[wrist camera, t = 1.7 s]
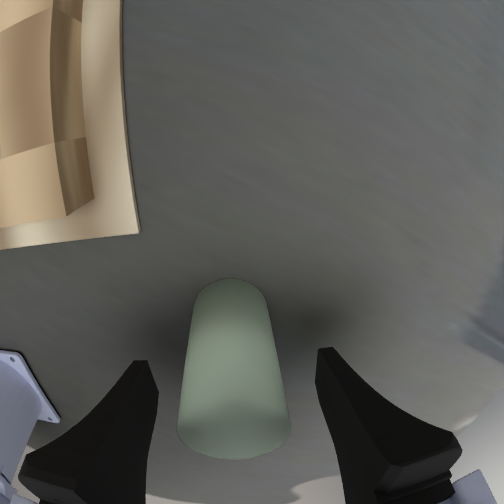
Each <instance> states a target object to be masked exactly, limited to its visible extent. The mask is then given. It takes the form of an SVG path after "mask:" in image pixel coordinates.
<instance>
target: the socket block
mask: <svg viewBox="0 0 504 504" xmlns="http://www.w3.org/2000/svg"><path fill="white" fill-rule="evenodd" d="M122 2H123V0H0V250H2V249H9V248H17V247H24V246H32V245H40V244H48V243H56V242H64V241H72V240H81V239H90V238H99V237H108V236H117V235H127V234H136V233H139V232H140V231H141V228H140V222H139V217H138V211H137V204H136V198H135V191H134V184H133V177H132V170H131V162H130V153H129V144H128V135H127V124H126V113H125V99H124V83H123V59H122Z"/></svg>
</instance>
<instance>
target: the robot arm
mask: <svg viewBox="0 0 504 504" xmlns="http://www.w3.org/2000/svg"><path fill="white" fill-rule="evenodd" d="M315 384H316V389H317V394H318V399H319V403H320V406H321V408H322V411H323V414H324V417H325V420H326V423H327V426H328V428H329V431H330V434H331V437H332V440H333V443H334V446H335V450H336V454H337V458H338V463H339V468H340V473H341V478H342V483H343V489H344V495H345V502H346V504H497V503H496V500H495V498H494V496H493V494H492V492H491V490H490V488H489V486H488V484H487V482H486V480H485V478H484V476H483V475H482V472H481V471H480V470H479V469H478V470H476V471H474V472H472V473H470V474H468V475H467V476H464V477H463V478H460V479H459V480H457V481H455V482H454V483H453V484H452V483H451V481H450V478H451V477H452V474H451V472H450V470H449V469H450V468H451V467H452V466H453V464H454V463H455V462H456V461H457V460H458V459H459V457H460V456H461V454H462V448H461V446H460V444H459V442H458V440H457V439H456V437H455V436H454V434H453V433H452V432H450V431H447V430H444V429H441V428H439V427H436V426H433V425H431V424H428V423H426V422H424V421H422V420H420V419H418V418H416V417H414V416H412V415H410V414H408V413H407V412H405V411H403V410H401V409H400V408H398V407H397V406H395V405H394V404H392V403H391V402H389V401H388V400H387V399H385V398H384V397H383V396H381V395H380V394H379V393H378V392H376V391H375V390H374V389H373V388H372V387H371V386H370V385H368V384H367V383H366V382H365V381H364V380H363V379H362V378H361V377H360V376H359V375H358V374H357V373H356V372H355V371H354V370H353V369H352V368H351V367H350V366H349V365H348V364H347V363H346V361H345V360H344V359H343V358H342V357H341V356H340V355H339V354H338V352H337V351H336V350H335V349H334V348H333V347H328V348H320V349H318V356H317V366H316V376H315ZM158 394H159V392H158V389H157V386H156V384H155V381H154V378H153V375H152V373H151V370H150V367H149V364H148V361H147V360H134V361H133V362H132V364H131V365H130V366H129V367H128V369H127V370H126V371H125V372H124V374H123V375H122V376H121V377H120V379H119V380H118V381H117V383H116V384H115V385H114V386H113V387H112V389H111V390H110V391H109V392H108V393H107V395H106V396H105V397H104V398H103V399H102V400H101V401H100V402H99V404H98V405H97V406H96V407H95V408H94V409H93V410H92V411H91V412H90V413H89V414H88V415H87V416H86V417H84V418H83V419H82V420H81V421H80V422H79V423H78V424H76V425H75V426H74V427H72V428H71V429H70V430H68V431H67V432H66V433H64V434H63V435H62V436H60V437H59V438H57V439H55V440H54V441H52V442H50V443H49V444H47V445H45V446H43V447H41V448H39V449H37V450H35V451H33V452H31V453H29V454H27V455H26V457H25V459H24V462H23V465H22V467H21V470H20V472H19V475H18V479H19V481H20V482H21V483H22V484H23V485H24V486H25V487H26V488H27V489H28V490H30V491H31V492H32V493H33V494H34V495H35V496H37V497H38V498H39V499H40V502H39V504H146V502H145V500H146V498H145V493H146V469H147V458H148V452H149V447H150V443H151V438H152V433H153V429H154V424H155V419H156V415H157V407H158ZM38 419H39V420H44V421H49V422H54V423H59V422H60V417H59V416H58V414H57V413H56V411H55V410H54V409H53V407H52V406H51V404H50V403H49V401H48V399H47V398H46V396H45V395H44V393H43V392H42V390H41V388H40V387H39V385H38V383H37V382H36V380H35V378H34V377H33V375H32V373H31V371H30V370H29V368H28V366H27V364H26V363H25V361H24V359H23V357H22V356H21V355H20V354H19V353H17V352H10V351H2V350H0V504H37V503H35V502H34V501H31V500H29V499H26V498H23V497H21V496H19V495H17V490H16V489H15V488H13V487H12V486H11V483H12V480H13V477H14V475H15V472H16V469H17V467H18V464H19V462H20V459H21V457H22V454H23V452H24V449H25V447H26V445H27V442H28V440H29V438H30V435H31V433H32V431H33V429H34V426H35V424H36V422H37V420H38Z"/></svg>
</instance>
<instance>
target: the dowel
mask: <svg viewBox="0 0 504 504" xmlns="http://www.w3.org/2000/svg"><path fill="white" fill-rule="evenodd" d="M177 433H178V436H179V438H180V439H181V441H182V442H183V443H184V444H185V445H186V446H188V447H189V448H190V449H192V450H194V451H196V452H198V453H200V454H203V455H206V456H210V457H214V458H219V459H247V458H253V457H257V456H260V455H264V454H266V453H269V452H271V451H273V450H275V449H276V448H278V447H279V446H281V445H282V444H283V443H284V442H285V441H286V440H287V438H288V437H289V435H290V433H291V422H290V417H289V412H288V407H287V402H286V397H285V392H284V387H283V382H282V377H281V372H280V367H279V362H278V357H277V352H276V347H275V342H274V337H273V332H272V327H271V323H270V318H269V313H268V308H267V303H266V300H265V298H264V296H263V294H262V293H261V292H260V290H259V289H258V288H256V287H255V286H254V285H252V284H250V283H248V282H246V281H243V280H239V279H222V280H218V281H215V282H212V283H211V284H209V285H207V286H206V287H204V288H203V289H202V290H201V291H200V293H199V294H198V296H197V297H196V300H195V303H194V308H193V315H192V321H191V327H190V334H189V340H188V347H187V353H186V360H185V367H184V374H183V382H182V389H181V397H180V405H179V413H178V421H177Z"/></svg>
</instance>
